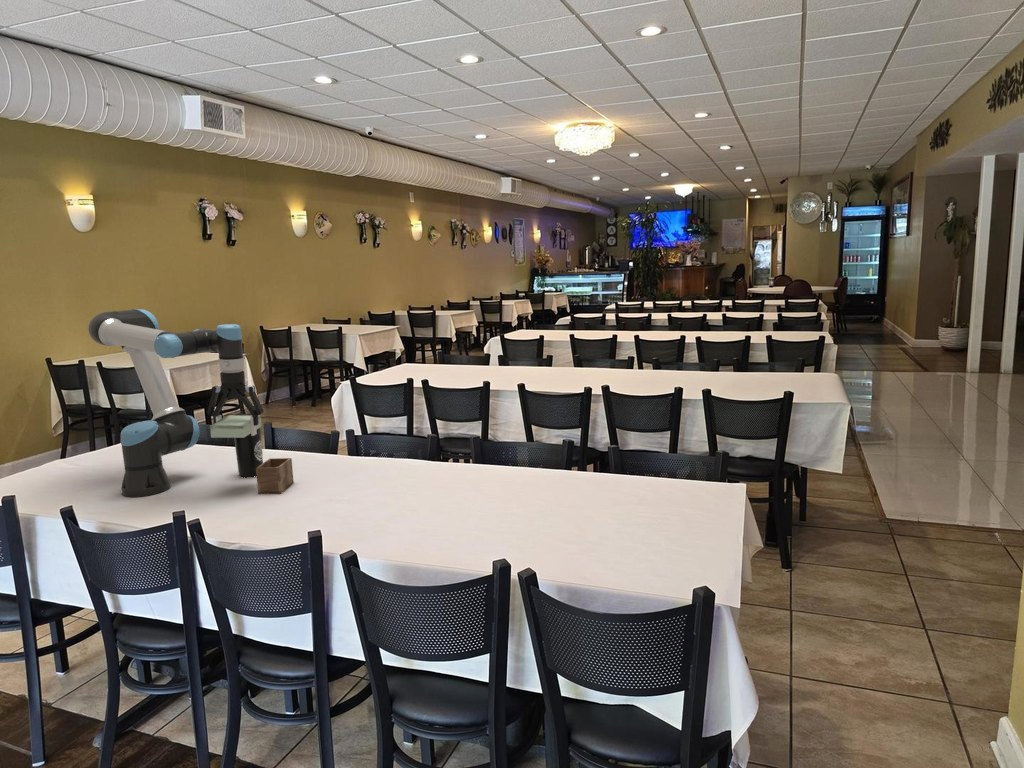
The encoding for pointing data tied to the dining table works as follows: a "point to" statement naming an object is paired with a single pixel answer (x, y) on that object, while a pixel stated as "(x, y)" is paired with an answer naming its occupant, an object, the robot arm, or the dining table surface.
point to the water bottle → (249, 453)
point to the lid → (233, 427)
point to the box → (274, 476)
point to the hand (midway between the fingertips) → (237, 434)
